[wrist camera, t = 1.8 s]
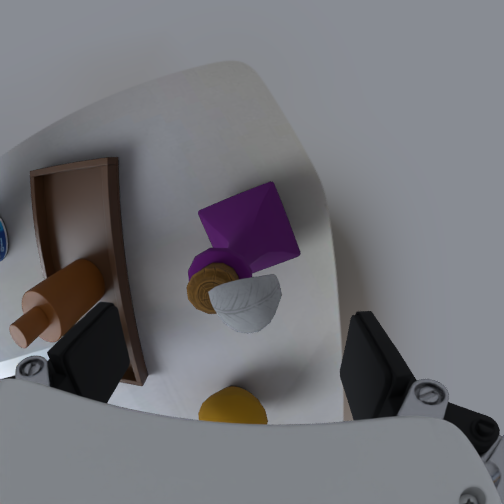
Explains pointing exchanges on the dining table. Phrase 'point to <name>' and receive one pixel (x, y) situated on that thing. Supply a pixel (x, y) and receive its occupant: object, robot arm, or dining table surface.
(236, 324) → the perfume bottle
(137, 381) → the tray
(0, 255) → the beverage bottle
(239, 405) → the apple
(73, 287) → the amber bottle
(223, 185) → the dining table surface
